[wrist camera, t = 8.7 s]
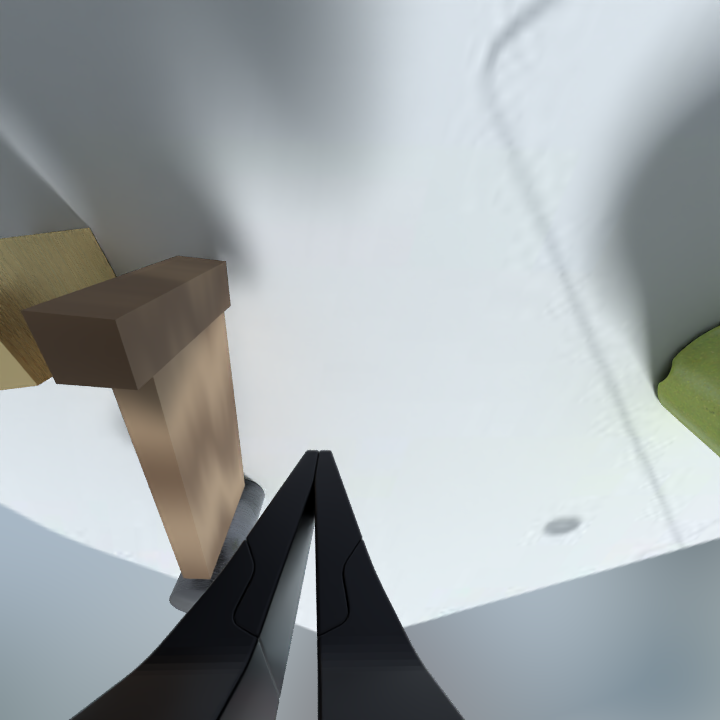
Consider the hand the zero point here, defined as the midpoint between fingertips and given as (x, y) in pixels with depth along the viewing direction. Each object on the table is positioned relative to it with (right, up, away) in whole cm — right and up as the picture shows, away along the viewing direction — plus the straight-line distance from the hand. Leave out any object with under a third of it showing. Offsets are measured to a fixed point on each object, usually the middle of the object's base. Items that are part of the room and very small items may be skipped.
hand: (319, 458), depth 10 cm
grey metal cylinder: (-7, -6, +9) cm, 13 cm away
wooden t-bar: (-5, +2, +4) cm, 7 cm away
